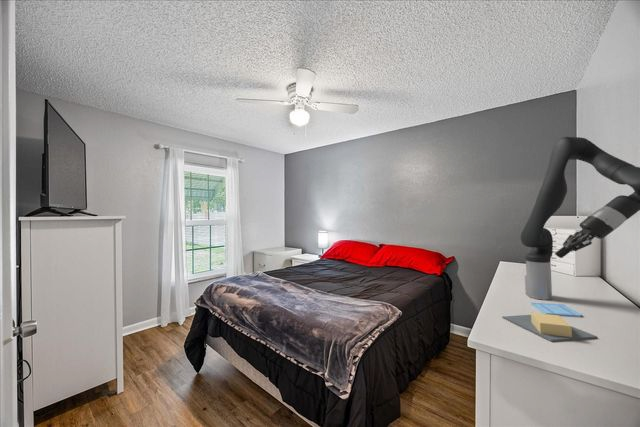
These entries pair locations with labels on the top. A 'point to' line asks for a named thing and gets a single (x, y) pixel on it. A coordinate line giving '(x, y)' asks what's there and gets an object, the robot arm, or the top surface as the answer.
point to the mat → (526, 323)
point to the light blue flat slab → (556, 309)
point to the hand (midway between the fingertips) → (557, 255)
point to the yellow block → (551, 324)
